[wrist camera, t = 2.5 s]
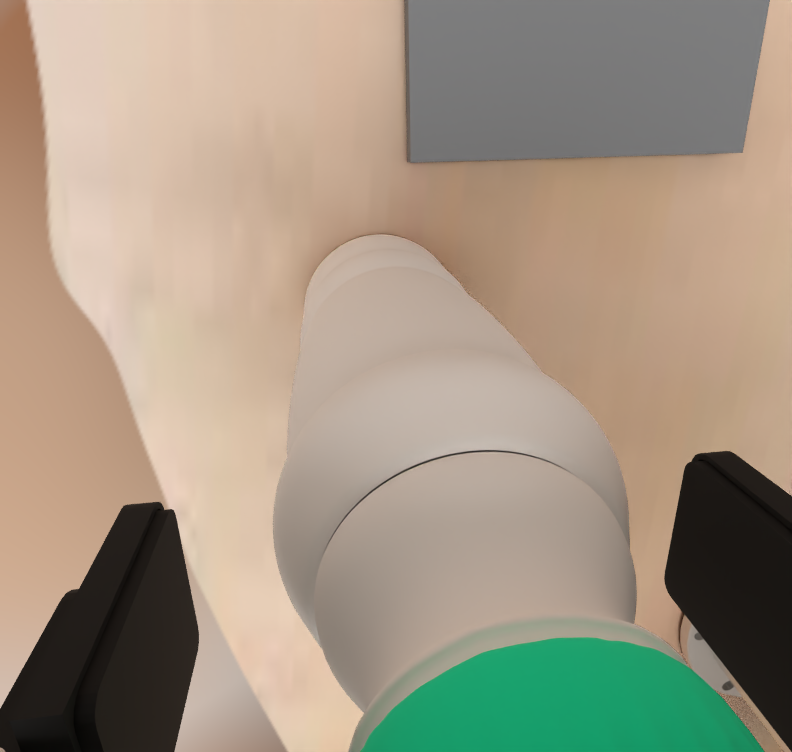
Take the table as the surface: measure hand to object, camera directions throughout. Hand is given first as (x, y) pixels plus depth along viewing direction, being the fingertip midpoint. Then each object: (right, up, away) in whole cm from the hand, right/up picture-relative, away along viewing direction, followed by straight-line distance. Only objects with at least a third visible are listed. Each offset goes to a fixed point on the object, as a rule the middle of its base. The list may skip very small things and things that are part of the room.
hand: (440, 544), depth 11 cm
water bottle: (-2, +6, +18) cm, 19 cm away
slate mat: (+7, +19, +14) cm, 24 cm away
